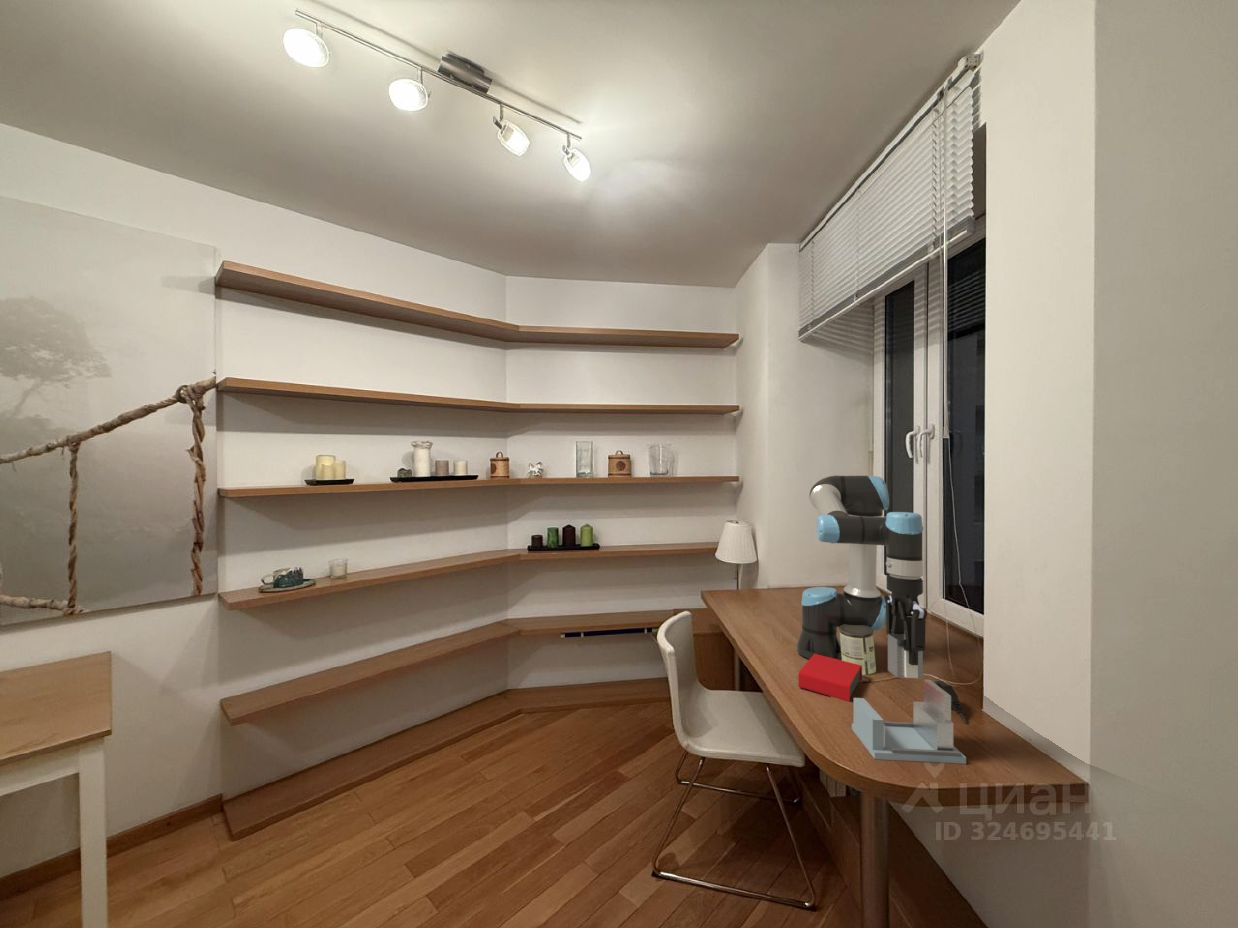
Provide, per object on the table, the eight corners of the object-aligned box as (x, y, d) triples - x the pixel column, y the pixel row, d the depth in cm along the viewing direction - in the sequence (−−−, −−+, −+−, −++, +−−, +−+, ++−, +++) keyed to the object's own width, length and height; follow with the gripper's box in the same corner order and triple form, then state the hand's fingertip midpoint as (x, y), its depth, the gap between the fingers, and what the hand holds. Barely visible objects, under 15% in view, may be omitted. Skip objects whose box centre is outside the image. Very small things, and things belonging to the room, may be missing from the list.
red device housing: (814, 667, 152) (814, 652, 152) (861, 680, 143) (861, 664, 143) (798, 687, 138) (798, 671, 138) (849, 703, 129) (849, 685, 129)
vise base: (851, 728, 116) (851, 695, 116) (933, 732, 114) (933, 699, 114) (874, 758, 104) (874, 722, 104) (966, 763, 102) (966, 726, 102)
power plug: (958, 722, 118) (931, 676, 127) (944, 734, 122) (920, 689, 132) (979, 721, 118) (951, 676, 127) (964, 734, 122) (938, 689, 132)
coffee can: (843, 661, 158) (840, 621, 159) (877, 666, 153) (874, 625, 153) (840, 674, 150) (837, 631, 150) (875, 680, 144) (872, 636, 144)
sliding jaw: (913, 727, 114) (913, 677, 114) (927, 727, 113) (927, 678, 113) (937, 751, 104) (937, 696, 104) (953, 751, 104) (953, 697, 104)
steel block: (887, 670, 111) (887, 633, 112) (912, 671, 111) (912, 634, 111) (897, 677, 107) (897, 639, 108) (923, 678, 107) (922, 639, 107)
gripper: (870, 568, 119) (870, 658, 118) (910, 583, 101) (911, 688, 101) (899, 569, 118) (899, 659, 118) (944, 584, 101) (945, 689, 101)
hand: (905, 672), depth 109 cm, fingers closed on steel block, 4 cm apart
